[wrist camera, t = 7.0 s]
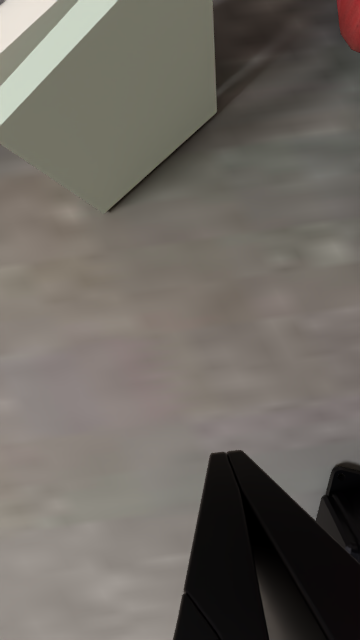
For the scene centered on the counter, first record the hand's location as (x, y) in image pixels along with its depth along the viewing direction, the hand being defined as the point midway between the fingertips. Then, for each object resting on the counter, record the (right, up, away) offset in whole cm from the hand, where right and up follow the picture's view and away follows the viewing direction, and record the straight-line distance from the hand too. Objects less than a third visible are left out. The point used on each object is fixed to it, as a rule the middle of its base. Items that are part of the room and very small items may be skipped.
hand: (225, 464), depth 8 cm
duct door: (-3, +15, +12) cm, 19 cm away
